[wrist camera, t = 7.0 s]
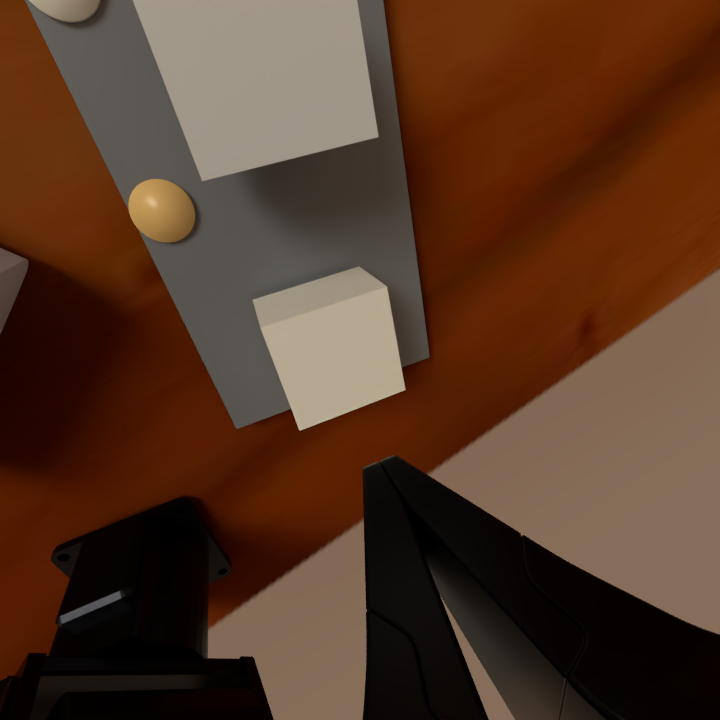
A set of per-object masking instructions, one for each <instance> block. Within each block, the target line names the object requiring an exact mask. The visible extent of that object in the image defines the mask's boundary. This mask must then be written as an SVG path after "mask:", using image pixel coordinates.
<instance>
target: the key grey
mask: <svg viewBox="0 0 720 720" xmlns="http://www.w3.org/2000/svg"><path fill="white" fill-rule="evenodd" d="M133 3H134V5H135V8H136V10H137V13H138V16H139V18H140V21H141V23H142V26H143V29H144V31H145V34H146V36H147V39H148V42H149V44H150V47H151V49H152V52H153V55H154V57H155V60H156V62H157V65H158V68H159V70H160V73H161V75H162V78H163V81H164V83H165V86H166V88H167V91H168V94H169V96H170V99H171V101H172V104H173V107H174V109H175V112H176V114H177V117H178V120H179V122H180V125H181V127H182V130H183V133H184V135H185V138H186V140H187V143H188V146H189V148H190V151H191V153H192V156H193V159H194V161H195V164H196V166H197V169H198V172H199V174H200V177H201V179H202V181H205V180H209V179H213V178H217V177H221V176H225V175H229V174H233V173H237V172H241V171H245V170H249V169H253V168H257V167H261V166H265V165H269V164H273V163H277V162H281V161H285V160H289V159H293V158H297V157H301V156H305V155H309V154H313V153H317V152H321V151H325V150H329V149H333V148H337V147H341V146H345V145H349V144H353V143H357V142H361V141H365V140H369V139H373V138H376V137H378V130H377V124H376V118H375V111H374V105H373V98H372V92H371V86H370V79H369V73H368V67H367V60H366V54H365V47H364V41H363V35H362V28H361V22H360V16H359V9H358V3H357V0H133Z"/></svg>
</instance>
